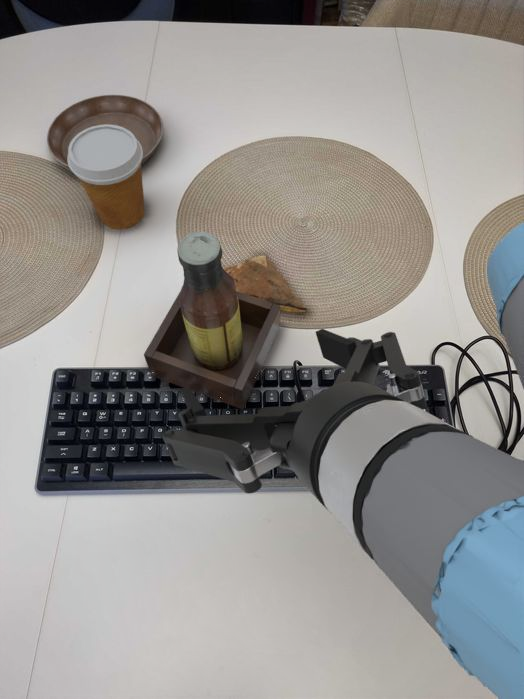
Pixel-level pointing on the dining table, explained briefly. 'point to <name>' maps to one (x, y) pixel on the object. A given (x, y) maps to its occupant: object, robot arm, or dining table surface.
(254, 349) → the box
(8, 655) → the dining table surface
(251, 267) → the quesadilla slice
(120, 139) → the disposable coffee cup
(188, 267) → the sauce bottle
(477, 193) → the dining table surface
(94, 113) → the plant saucer
